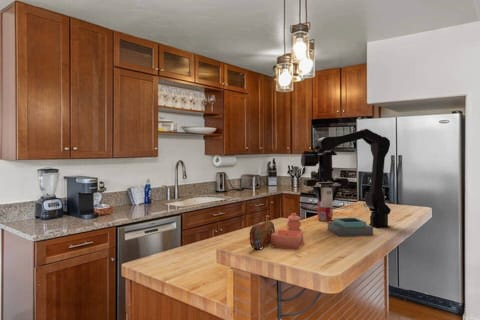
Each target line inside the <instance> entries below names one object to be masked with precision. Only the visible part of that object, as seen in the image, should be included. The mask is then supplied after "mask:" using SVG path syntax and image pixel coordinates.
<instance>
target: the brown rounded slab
mask: <svg viewBox="0 0 480 320" xmlns="http://www.w3.org/2000/svg"><path fill="white" fill-rule="evenodd" d="M275 229H276V228H275V224H274V223H273V221H271V220H265V221H261V222H258V223H257V224H254V225H253V226H252V227H251V228H250V231H249V245H250V247H251V248H252V249H255V248H256V249H255V250H261V249H260V248H262V247H264V246H266V247H268V246H269V244H270V245H271V235H272V234H273V233H275V232H276V230H275ZM267 245H268V246H267ZM264 248H265V247H264Z"/></svg>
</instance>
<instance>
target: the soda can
mask: <svg viewBox="0 0 480 320" xmlns="http://www.w3.org/2000/svg"><path fill="white" fill-rule="evenodd" d="M333 207H334V206H333ZM333 207H320V202H319V200H318V199H317V219H318V220H319V221H322V222H330V221H331V220H332V219H333V210H334V209H333Z"/></svg>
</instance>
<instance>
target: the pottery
mask: <svg viewBox="0 0 480 320" xmlns="http://www.w3.org/2000/svg"><path fill="white" fill-rule="evenodd" d="M286 225H287V227H288V228H287V229H277V230H275V233H273V234H272V235H271V244H270V247H271V246H274V247H273V248H281V247H284V248H283V249H290V248H291V250H293V249H294V250H298V249H300V247H301V246H302V245H304V244H303V243H304V232H303V231H302V229H301V228H300V227H301V217H300V216H299V215H297V213H296V212H291V215H289V216H288V217H287V224H286Z"/></svg>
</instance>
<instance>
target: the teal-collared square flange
mask: <svg viewBox="0 0 480 320" xmlns="http://www.w3.org/2000/svg"><path fill="white" fill-rule="evenodd" d="M327 230H328V231H329V232H332V233H333V234H335V235H336V236H339V237H359V236H373V235H374V227H373V226H371V225H368V224H367V221H364V220H362V219H360V218H357V217H338V218H337V217H335V218H333V222H332V221H331V222H327Z"/></svg>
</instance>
